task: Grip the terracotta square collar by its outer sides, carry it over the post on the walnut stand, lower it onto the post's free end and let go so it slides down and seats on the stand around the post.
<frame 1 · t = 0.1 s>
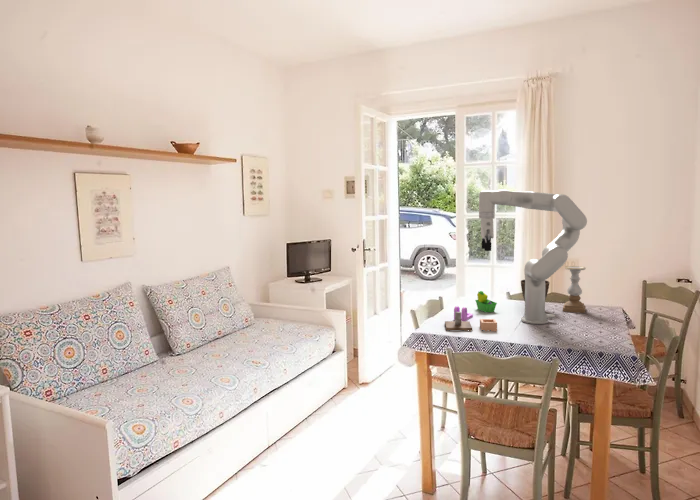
hand: (486, 249, 245), 37 cm above the table, tool pointing down, fingers open, 9 cm apart
candle holder: (574, 310, 268), on the table
plant pot: (534, 310, 271), on the table
fruit basket: (484, 310, 272), on the table
bracket: (464, 318, 257), on the table
post stand: (458, 327, 239), on the table
collar: (488, 328, 235), on the table
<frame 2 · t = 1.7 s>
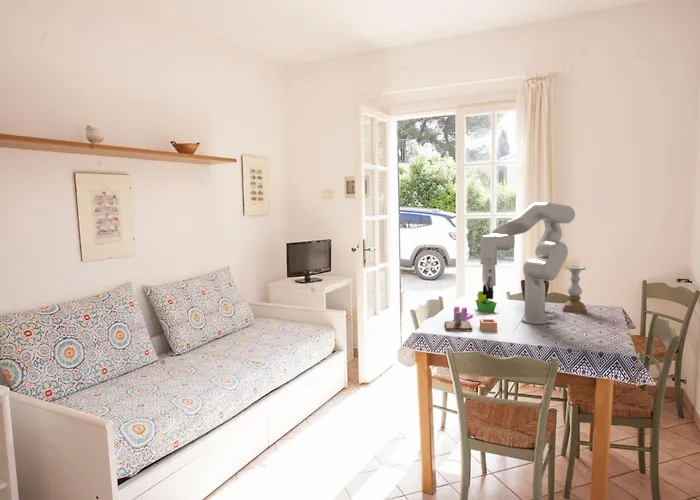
hand: (487, 296, 233), 16 cm above the table, tool pointing down, fingers open, 9 cm apart
nothing on the table moved.
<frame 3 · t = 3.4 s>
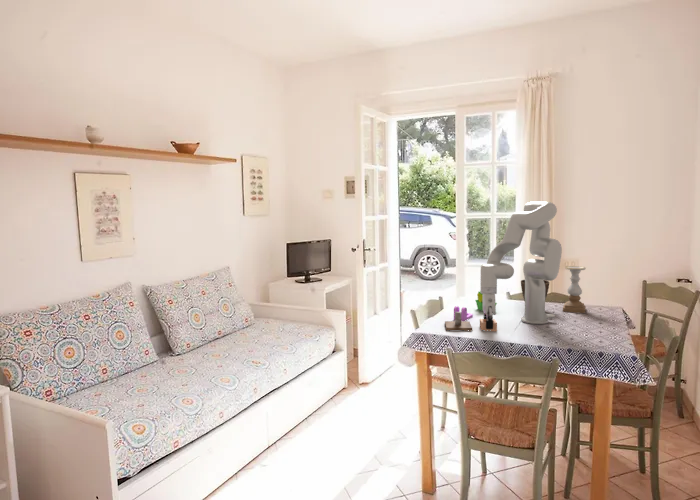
hand: (488, 326, 235), 1 cm above the table, tool pointing down, fingers closed on collar, 7 cm apart
collar: (488, 329, 235), on the table, touching gripper
everything else where it was.
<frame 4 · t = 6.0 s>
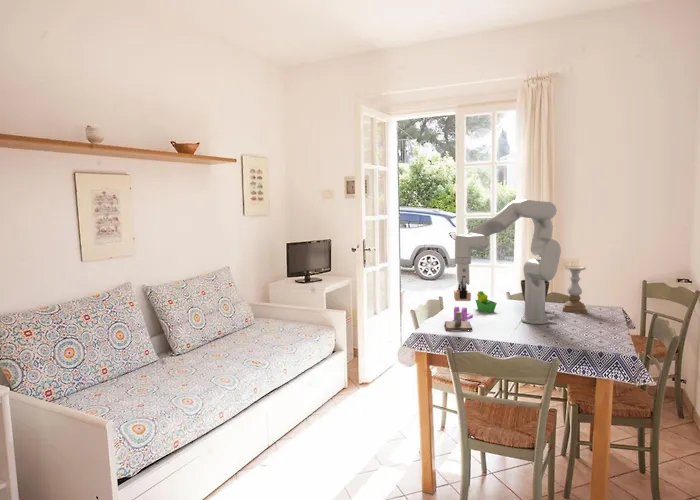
hand: (462, 296, 236), 15 cm above the table, tool pointing down, fingers closed on collar, 7 cm apart
collar: (462, 299, 236), point 14 cm above the table, touching gripper
everything else where it was.
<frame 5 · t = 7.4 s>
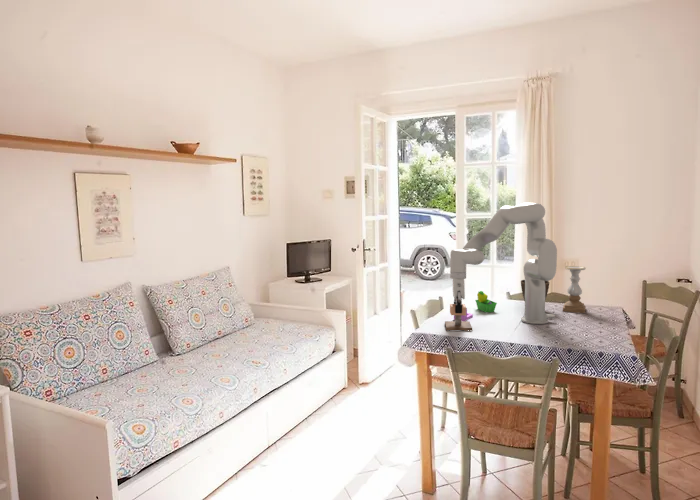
hand: (457, 311, 238), 8 cm above the table, tool pointing down, fingers closed on collar, 7 cm apart
collar: (457, 313, 238), point 7 cm above the table, touching gripper
everything else where it was.
when the fingers open (7 cm above the table, at t = 8.6 s): collar drops 4 cm, resting on post stand.
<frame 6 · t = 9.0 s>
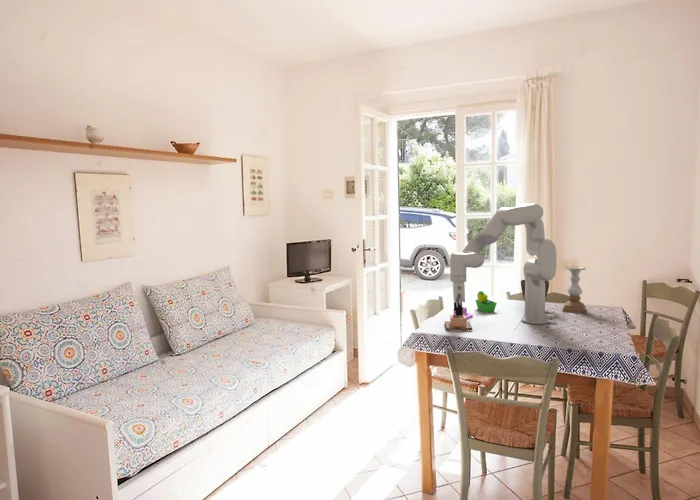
hand: (458, 312, 238), 7 cm above the table, tool pointing down, fingers open, 9 cm apart
collar: (458, 324, 238), point 1 cm above the table, touching post stand
everything else where it was.
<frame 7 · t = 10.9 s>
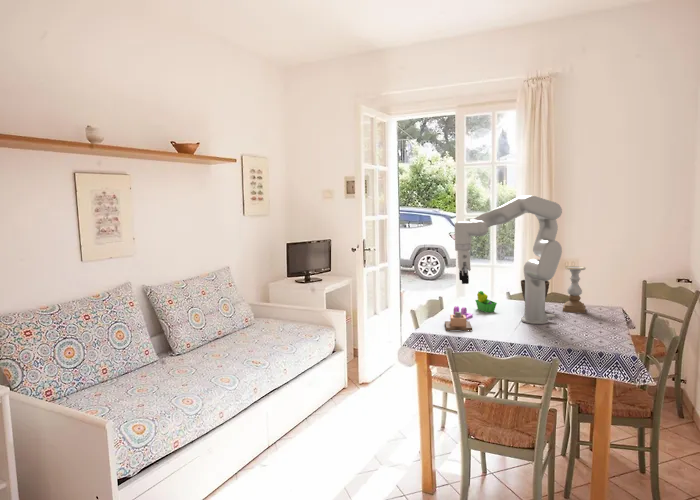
hand: (463, 281, 240), 22 cm above the table, tool pointing down, fingers open, 9 cm apart
nothing on the table moved.
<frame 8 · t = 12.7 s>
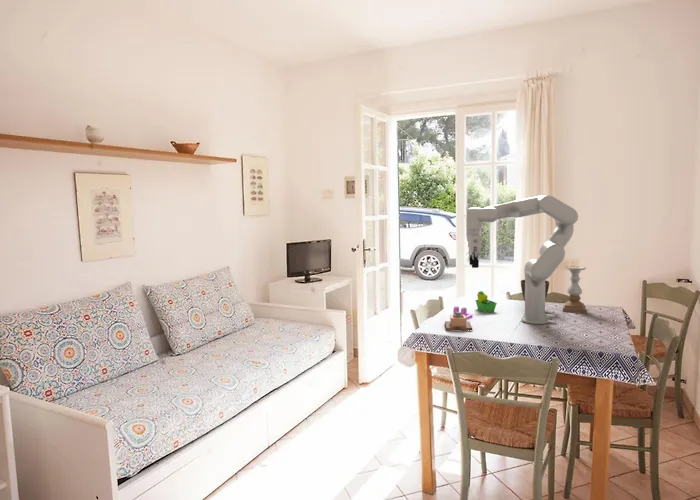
hand: (473, 266, 247), 28 cm above the table, tool pointing down, fingers open, 9 cm apart
nothing on the table moved.
at the end: collar 0.0 cm off-centre on the post stand, point 1.5 cm above the post stand's base; collar tilted 0°; the gripper is holding nothing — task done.
